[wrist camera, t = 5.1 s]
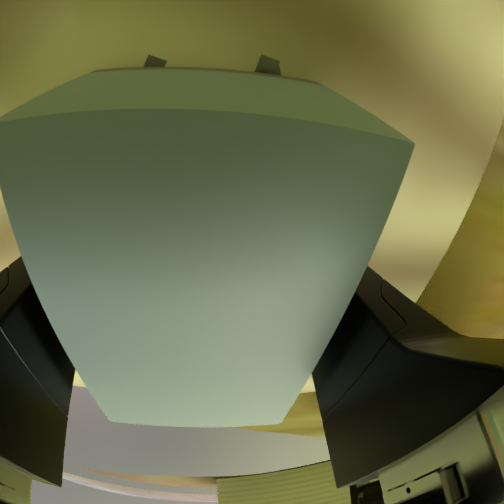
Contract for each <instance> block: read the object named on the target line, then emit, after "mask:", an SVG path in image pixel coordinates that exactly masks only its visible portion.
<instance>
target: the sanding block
mask: <svg viewBox="0 0 504 504" xmlns="http://www.w3.org/2000/svg"><path fill="white" fill-rule="evenodd" d="M414 147H415V143H414V142H413V141H411V140H410V139H408V138H407V137H406V136H404V135H403V134H401V133H400V132H398V131H397V130H396V129H394V128H393V127H391V126H390V125H388V124H387V123H385V122H384V121H382V120H381V119H379V118H378V117H376V116H375V115H373V114H371V113H370V112H368V111H367V110H365V109H364V108H362V107H360V106H359V105H357V104H355V103H354V102H352V101H350V100H349V99H347V98H345V97H344V96H342V95H340V94H338V93H337V92H335V91H333V90H331V89H329V88H328V87H326V86H324V85H322V84H320V83H318V82H316V81H310V80H305V79H299V78H293V77H287V76H281V75H274V74H267V73H259V72H250V71H240V70H229V69H216V68H198V67H130V68H113V69H100V70H95V71H92V72H90V73H87V74H85V75H82V76H80V77H78V78H75V79H73V80H71V81H68V82H66V83H64V84H62V85H60V86H57V87H55V88H53V89H51V90H49V91H47V92H45V93H43V94H41V95H39V96H37V97H35V98H33V99H31V100H29V101H27V102H26V103H24V104H22V105H20V106H18V107H16V108H15V109H13V110H11V111H9V112H8V113H6V114H4V115H3V116H1V117H0V188H1V192H2V196H3V200H4V203H5V207H6V211H7V214H8V217H9V221H10V224H11V227H12V230H13V233H14V236H15V239H16V242H17V245H18V248H19V251H20V253H21V256H22V259H23V262H24V264H25V267H26V269H27V272H28V274H29V277H30V279H31V282H32V284H33V286H34V289H35V291H36V293H37V296H38V298H39V300H40V302H41V304H42V307H43V309H44V311H45V313H46V315H47V317H48V319H49V321H50V323H51V325H52V327H53V329H54V331H55V333H56V335H57V337H58V339H59V341H60V343H61V344H62V346H63V348H64V350H65V352H66V354H67V355H68V357H69V359H70V361H71V362H72V364H73V366H74V367H75V369H76V371H77V372H78V374H79V376H80V377H81V379H82V381H83V382H84V384H85V385H86V387H87V388H88V390H89V392H90V393H91V395H92V396H93V398H94V399H95V401H96V402H97V403H98V405H99V407H100V408H101V410H102V411H103V412H104V414H105V415H106V417H107V418H108V419H109V420H110V421H112V422H120V423H130V424H141V425H156V426H175V427H176V426H177V427H237V426H257V425H271V424H281V422H282V420H283V419H284V417H285V416H286V414H287V413H288V411H289V409H290V408H291V406H292V405H293V403H294V401H295V400H296V398H297V397H298V395H299V393H300V392H301V390H302V388H303V387H304V385H305V383H306V382H307V380H308V378H309V377H310V375H311V373H312V371H313V370H314V368H315V366H316V365H317V363H318V361H319V359H320V357H321V356H322V354H323V352H324V350H325V348H326V347H327V345H328V343H329V341H330V339H331V337H332V336H333V334H334V332H335V330H336V328H337V326H338V324H339V322H340V320H341V319H342V317H343V315H344V313H345V311H346V309H347V307H348V305H349V303H350V301H351V299H352V297H353V295H354V293H355V291H356V289H357V286H358V284H359V282H360V280H361V278H362V276H363V274H364V272H365V270H366V267H367V265H368V263H369V261H370V259H371V256H372V254H373V252H374V250H375V247H376V245H377V243H378V241H379V238H380V236H381V234H382V231H383V229H384V226H385V224H386V222H387V219H388V217H389V214H390V212H391V209H392V207H393V204H394V202H395V199H396V197H397V194H398V191H399V189H400V186H401V183H402V181H403V178H404V175H405V172H406V170H407V167H408V164H409V161H410V158H411V155H412V152H413V150H414Z"/></svg>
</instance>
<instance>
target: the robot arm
mask: <svg viewBox="0 0 504 504" xmlns="http://www.w3.org/2000/svg"><path fill="white" fill-rule="evenodd" d="M75 370H76V369H75V367H74V366H73V364H72V362H71V361H70V359H69V357H68V355H67V354H66V352H65V350H64V348H63V346H62V344H61V343H60V341H59V339H58V337H57V335H56V333H55V331H54V329H53V327H52V325H51V323H50V321H49V319H48V317H47V315H46V313H45V311H44V309H43V307H42V304H41V302H40V300H39V298H38V296H37V293H36V291H35V289H34V286H33V284H32V282H31V279H30V277H29V274H28V272H27V269H26V267H25V264H24V262H23V259H22V256H20V257H19V258H17V259H16V260H15V261H14V262H12V263H11V264H10V265H9V266H8V267H6V268H5V269H3V270H2V271H1V272H0V504H30V501H31V485H32V479H33V480H37V481H40V482H43V483H47V484H51V485H54V486H58V487H62V474H63V459H64V447H65V438H66V428H67V421H68V417H67V416H68V412H69V404H70V399H71V393H72V387H73V381H74V375H75ZM311 374H312V378H313V382H314V387H315V391H316V395H317V400H318V404H319V408H320V413H321V417H322V420H323V421H322V422H323V427H324V431H325V436H326V441H327V445H328V450H329V454H330V459H331V464H332V469H333V473H334V478H335V483H336V487H337V489H339V488H343V487H347V486H349V487H350V497H351V504H504V339H491V338H474V337H468V336H464V335H461V334H459V333H457V332H455V331H453V330H452V329H450V328H449V327H447V326H446V325H445V324H443V323H442V322H441V321H439V320H438V319H437V318H435V317H434V316H432V315H431V314H430V313H428V312H427V311H426V310H424V309H423V308H421V307H420V306H419V305H417V304H416V303H415V302H413V301H412V300H411V299H409V298H408V297H406V296H405V295H404V294H403V293H401V292H400V291H399V290H398V289H396V288H395V287H394V286H392V285H391V284H390V283H389V282H388V281H386V280H385V279H383V278H382V277H381V276H380V275H379V274H378V273H376V272H375V271H374V270H373V269H371V268H370V267H369V266H368V265H367V267H366V270H365V272H364V274H363V276H362V278H361V280H360V282H359V284H358V286H357V289H356V291H355V293H354V295H353V297H352V299H351V301H350V303H349V305H348V307H347V309H346V311H345V313H344V315H343V317H342V319H341V320H340V322H339V324H338V326H337V328H336V330H335V332H334V334H333V336H332V337H331V339H330V341H329V343H328V345H327V347H326V348H325V350H324V352H323V354H322V356H321V357H320V359H319V361H318V363H317V365H316V366H315V368H314V370H313V371H312V373H311ZM376 478H379V480H376V481H373V482H370V481H369V480H373V479H376Z"/></svg>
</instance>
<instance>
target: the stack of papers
mask: <svg viewBox="0 0 504 504" xmlns="http://www.w3.org/2000/svg"><path fill="white" fill-rule="evenodd" d="M289 469H291V470H289ZM289 469H284V470H285V471H281V470H279V471H280V472H274V471H273V473H267V474H260V475H253V476H244V477H235V478H224V479H216V482H217V483H218V484H217V487H218V488H217V492H218V497H219V498H218V502H219V504H351V497H350V487H349V486H347V487H343V488H339V489H337V487H336V483H335V478H334V473H333V469H332V464H331V460H327V461H322V462H318V463H314V464H310V465H305V466H300V467H295V468H289ZM376 480H379V478H376V479H373V480H369V481H370V482H373V481H376Z"/></svg>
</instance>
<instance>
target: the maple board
mask: <svg viewBox="0 0 504 504" xmlns="http://www.w3.org/2000/svg"><path fill="white" fill-rule="evenodd" d="M130 67H198V68H216V69H229V70H240V71H250V72H259V73H267V74H274V75H281V76H287V77H293V78H299V79H305V80H310V81H316V82H318V83H320V84H322V85H324V86H326V87H328V88H329V89H331V90H333V91H335V92H337V93H338V94H340V95H342V96H344V97H345V98H347V99H349V100H350V101H352V102H354V103H355V104H357V105H359V106H360V107H362V108H364V109H365V110H367V111H368V112H370V113H371V114H373V115H375V116H376V117H378V118H379V119H381V120H382V121H384V122H385V123H387V124H388V125H390V126H391V127H393V128H394V129H396V130H397V131H398V132H400V133H401V134H403V135H404V136H406V137H407V138H408V139H410V140H411V141H413V142H414V143H415V147H414V150H413V152H412V155H411V158H410V161H409V164H408V167H407V170H406V172H405V175H404V178H403V181H402V183H401V186H400V189H399V191H398V194H397V197H396V199H395V202H394V204H393V207H392V209H391V212H390V214H389V217H388V219H387V222H386V224H385V226H384V229H383V231H382V234H381V236H380V238H379V241H378V243H377V245H376V247H375V250H374V252H373V254H372V256H371V259H370V261H369V263H368V266H369V267H370V268H371V269H373V270H374V271H375V272H376V273H378V274H379V275H380V276H381V277H382V278H383V279H385V280H386V281H388V282H389V283H390V284H391V285H392V286H394V287H395V288H396V289H398V290H399V291H400V292H401V293H403V294H404V295H405V296H406V297H408V298H409V299H411V300H412V301H413V302H415V303H416V301H417V300H418V298H419V297H420V295H421V294H422V292H423V290H424V289H425V287H426V286H427V284H428V282H429V281H430V279H431V277H432V276H433V274H434V272H435V271H436V269H437V267H438V265H439V264H440V262H441V260H442V258H443V257H444V255H445V253H446V251H447V249H448V247H449V246H450V244H451V242H452V240H453V238H454V236H455V234H456V232H457V230H458V228H459V226H460V224H461V222H462V220H463V218H464V216H465V214H466V212H467V210H468V208H469V206H470V204H471V202H472V199H473V197H474V195H475V193H476V190H477V188H478V186H479V184H480V181H481V179H482V176H483V174H484V172H485V169H486V167H487V164H488V162H489V159H490V156H491V154H492V151H493V148H494V146H495V143H496V140H497V137H498V134H499V131H500V128H501V125H502V122H503V119H504V0H0V117H1V116H3V115H4V114H6V113H8V112H9V111H11V110H13V109H15V108H16V107H18V106H20V105H22V104H24V103H26V102H27V101H29V100H31V99H33V98H35V97H37V96H39V95H41V94H43V93H45V92H47V91H49V90H51V89H53V88H55V87H57V86H60V85H62V84H64V83H66V82H68V81H71V80H73V79H75V78H78V77H80V76H82V75H85V74H87V73H90V72H92V71H95V70H100V69H113V68H130ZM20 256H21V253H20V251H19V248H18V245H17V242H16V239H15V236H14V233H13V230H12V227H11V224H10V221H9V217H8V214H7V211H6V207H5V203H4V200H3V196H2V192H1V188H0V272H1V271H2V270H3V269H5V268H6V267H8V266H9V265H10V264H11V263H12V262H14V261H15V260H16V259H17V258H19V257H20ZM73 386H80V387H86V385H85V384H84V382H83V381H82V379H81V377H80V376H79V374H78V372H77V371H76V370H75V375H74V381H73ZM305 392H315V387H314V382H313V378H312V374H311V375H310V377H309V378H308V380H307V382H306V383H305V385H304V387H303V388H302V390H301V392H300V393H305Z"/></svg>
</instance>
